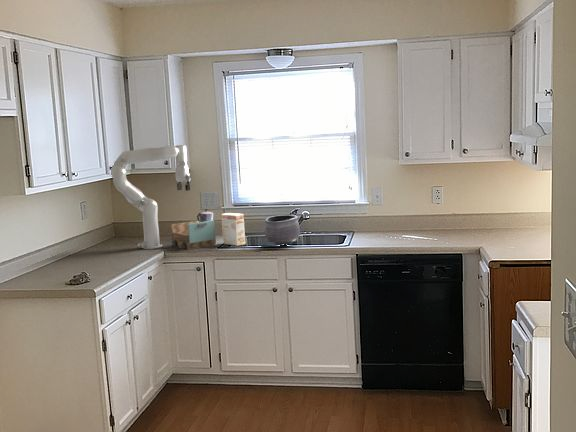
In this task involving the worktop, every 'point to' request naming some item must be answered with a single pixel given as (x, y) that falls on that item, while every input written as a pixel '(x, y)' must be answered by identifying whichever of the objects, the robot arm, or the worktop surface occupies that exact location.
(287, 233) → the tea bowl
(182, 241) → the shelf
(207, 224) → the tailgate
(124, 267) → the worktop surface
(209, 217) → the moka pot
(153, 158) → the robot arm
